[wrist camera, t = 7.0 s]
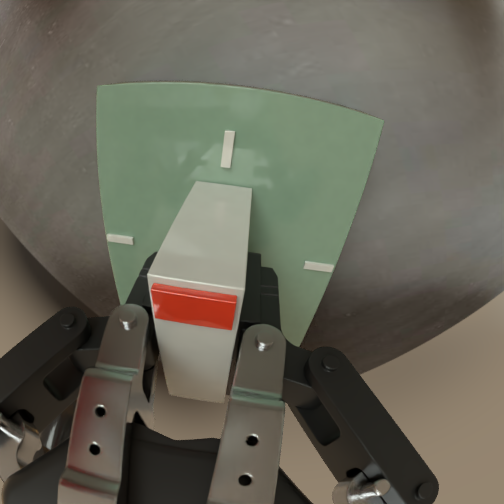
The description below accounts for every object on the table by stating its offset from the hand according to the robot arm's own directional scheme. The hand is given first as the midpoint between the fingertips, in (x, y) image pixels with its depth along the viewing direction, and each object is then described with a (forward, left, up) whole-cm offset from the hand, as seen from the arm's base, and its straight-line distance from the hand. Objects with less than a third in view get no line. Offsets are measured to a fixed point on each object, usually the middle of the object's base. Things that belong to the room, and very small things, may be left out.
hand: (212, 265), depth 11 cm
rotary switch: (0, 0, -4) cm, 4 cm away
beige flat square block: (0, 0, -1) cm, 1 cm away
